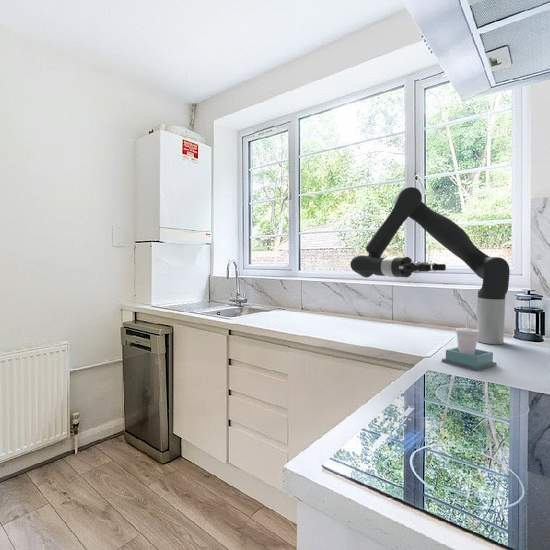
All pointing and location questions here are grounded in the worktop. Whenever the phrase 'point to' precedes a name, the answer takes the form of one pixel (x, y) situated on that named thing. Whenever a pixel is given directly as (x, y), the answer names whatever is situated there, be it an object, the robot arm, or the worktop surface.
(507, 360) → the worktop surface
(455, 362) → the tray
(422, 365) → the worktop surface
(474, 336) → the smoothie
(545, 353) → the worktop surface
